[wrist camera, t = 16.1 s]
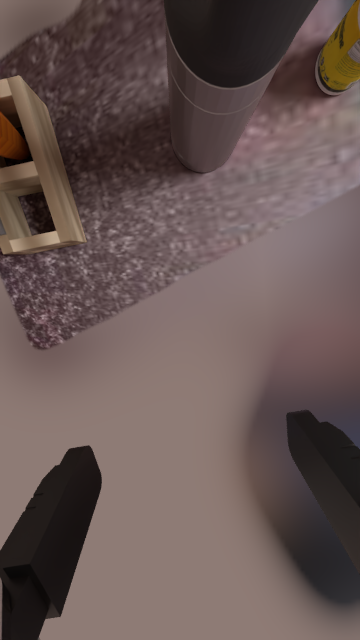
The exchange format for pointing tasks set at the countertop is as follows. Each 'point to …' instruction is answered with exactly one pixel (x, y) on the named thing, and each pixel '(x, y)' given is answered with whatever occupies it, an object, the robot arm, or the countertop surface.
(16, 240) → the frame
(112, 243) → the countertop surface
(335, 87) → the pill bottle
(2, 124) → the carrot
